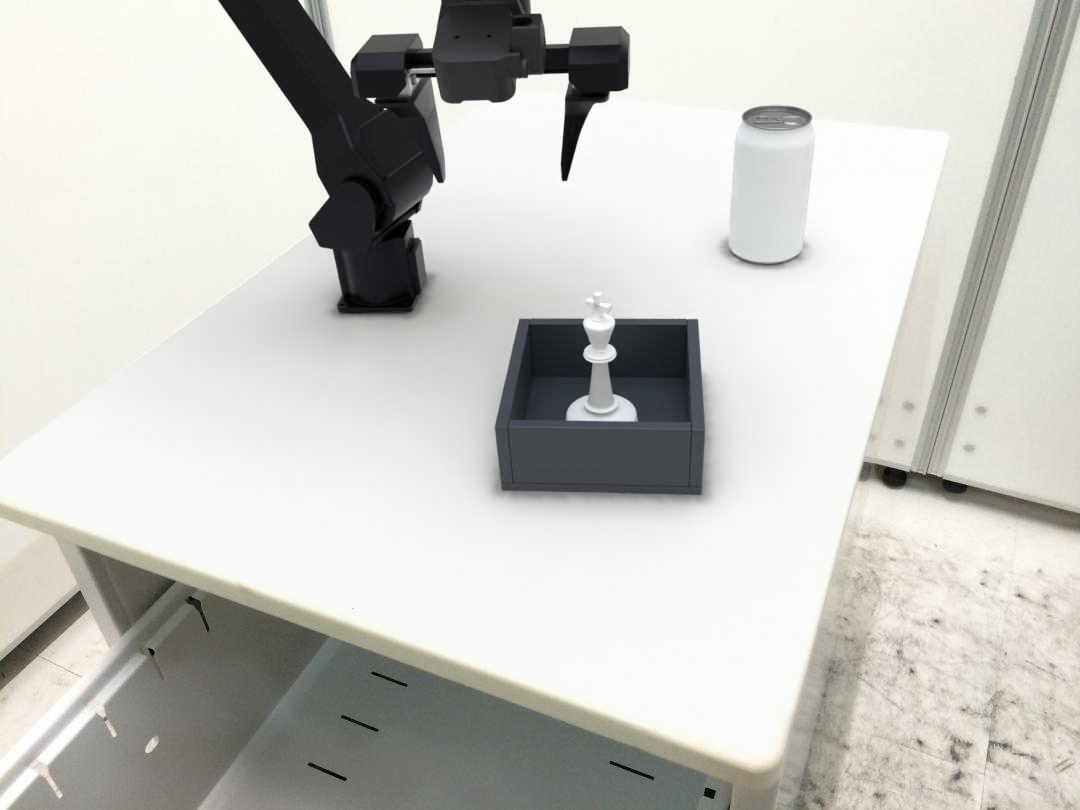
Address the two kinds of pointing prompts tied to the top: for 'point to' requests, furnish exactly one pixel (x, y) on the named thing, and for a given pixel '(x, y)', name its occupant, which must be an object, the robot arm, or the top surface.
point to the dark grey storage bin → (603, 446)
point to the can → (771, 183)
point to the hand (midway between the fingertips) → (503, 180)
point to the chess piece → (600, 371)
